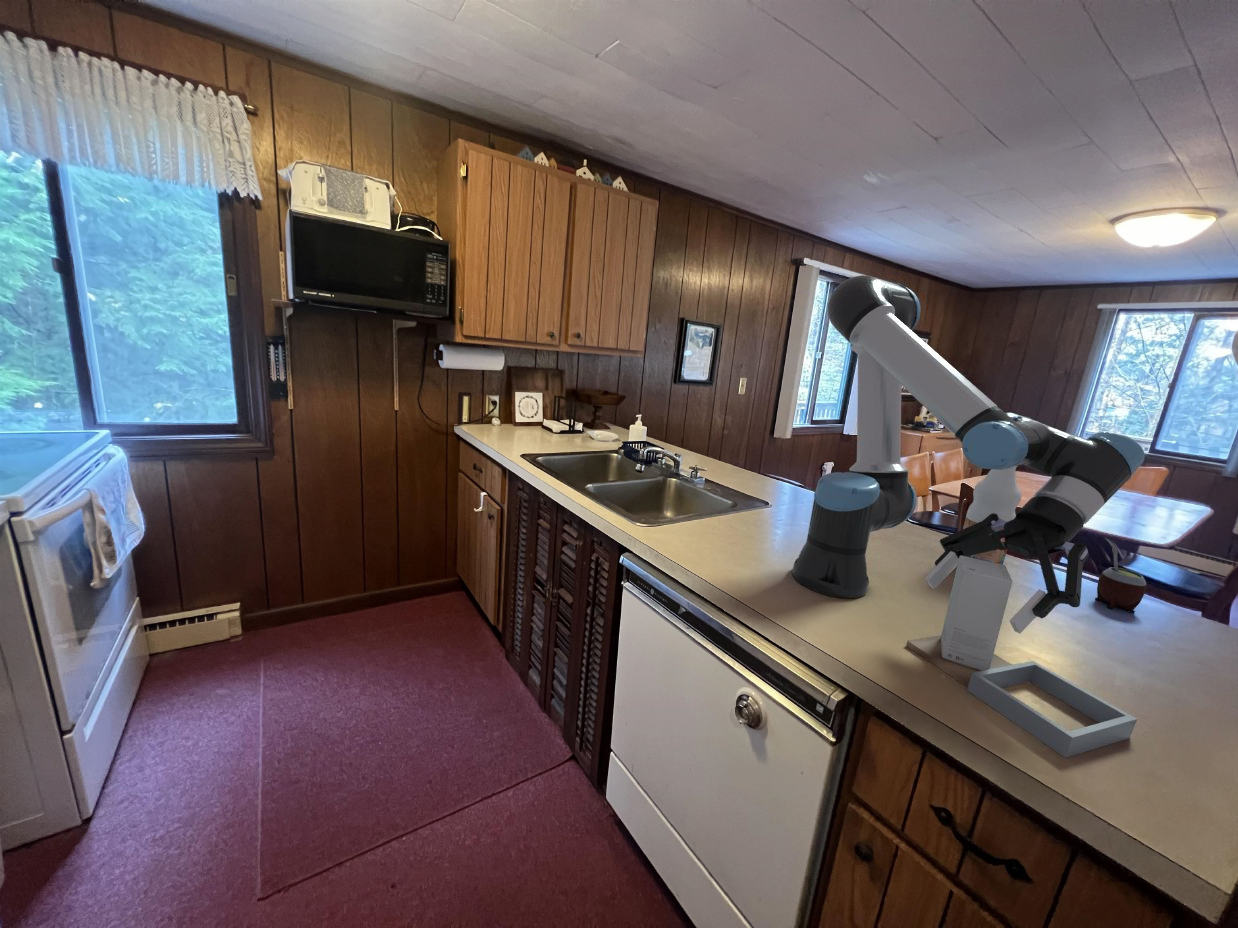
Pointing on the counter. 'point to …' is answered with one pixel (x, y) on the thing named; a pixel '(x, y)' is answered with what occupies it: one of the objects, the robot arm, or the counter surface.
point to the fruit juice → (994, 505)
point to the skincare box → (975, 612)
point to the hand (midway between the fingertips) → (968, 603)
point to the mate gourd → (1120, 586)
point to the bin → (1066, 743)
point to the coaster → (933, 654)
